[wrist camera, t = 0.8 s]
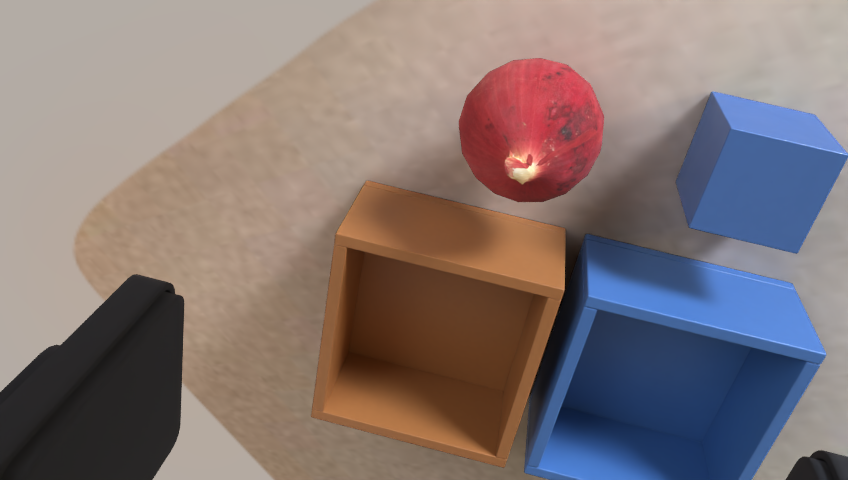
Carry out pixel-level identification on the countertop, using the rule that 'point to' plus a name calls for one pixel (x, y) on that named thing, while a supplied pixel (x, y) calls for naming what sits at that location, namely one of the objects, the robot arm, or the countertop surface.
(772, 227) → the blue block
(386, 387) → the brown bin
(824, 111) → the countertop surface
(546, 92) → the onion
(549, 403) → the blue bin
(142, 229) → the countertop surface
